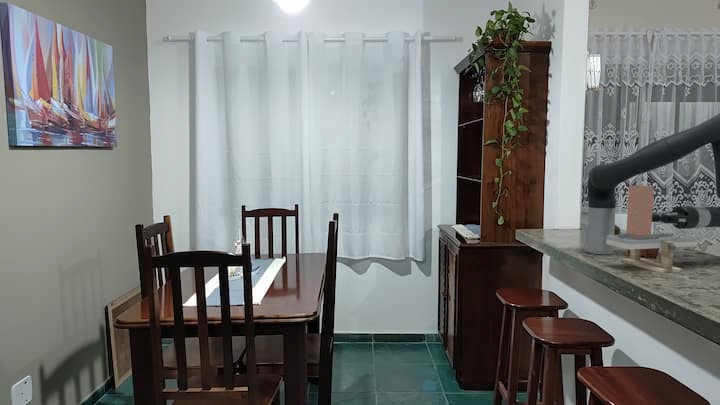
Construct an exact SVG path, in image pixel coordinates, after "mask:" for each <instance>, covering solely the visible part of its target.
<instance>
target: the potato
mask: <svg viewBox="0 0 720 405" xmlns="http://www.w3.org/2000/svg"><path fill="white" fill-rule="evenodd" d="M619 233H621V229H620V226H618V225H617V224H615V227H614V235H619Z"/></svg>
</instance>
